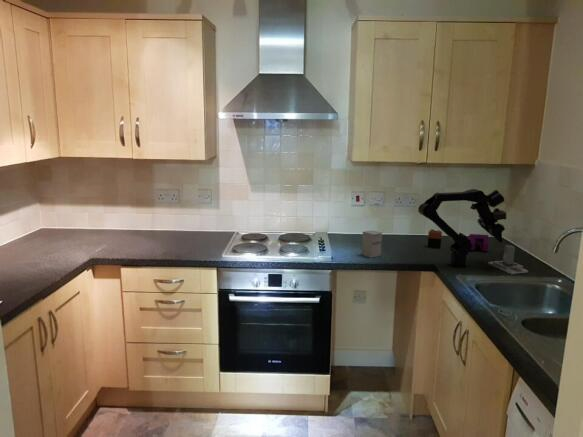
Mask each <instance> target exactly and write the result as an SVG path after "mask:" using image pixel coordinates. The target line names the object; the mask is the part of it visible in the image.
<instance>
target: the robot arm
mask: <svg viewBox="0 0 583 437" xmlns="http://www.w3.org/2000/svg"><path fill="white" fill-rule="evenodd" d="M457 201H458V202H461V201H466V202H472V203H471V206H470V208H469V209H471V210H474V211H475V210H476V212H477V214H478V219H477V220H476V221H477V222H476V223H478V225H479V226H480V227H481V228H483V230H485V231H486V232H487V233H488V235H491V237H493V238H494V239H496V241H498V242H499V243H503V232H504V231H505V230H506V228H505V226H504V225H503V224H502V223H498V222H499V221H501V220H502V221H503V220H507V212H506V211H505V210H502V209H499V208H498V207H497V206H499V205H501V204H502V203H505V198H504V196H503V195H502V194H501V193H500V192H499V190H497V189H495V190H493V191H491V193H488V194H485V192H484V191H483V190H480V189H476V188H472V189H471V188H470V189H467V190H464V191H455V192H435V193H434V194H433V195H432V196H431V197H429V198H428V199H426V200H425V201H424V202H423V203H421V204H420V205H419V206H418V210H417V211H418V213H419V214H420V215H422V216H423V217H425V218H426V219H428V220H430V221H431V222H432V223H433V224H434V225H436V227H438V228H439V229H440V231H441V232H442V233H444V234H446V236H448V237H449V238H450V239H451V242H452V244H451V245H450V246H449V250H450V252H451V254H450V261H449V262H448V265H451V267H454V268H465V267H467V266H468V264H467V256H468V254H469V252H470V251H469V250H470V249H471V247H472V243H471V242H470V241H471V240H470V239H468V238H467V237H468V236H466V235H465V234H464V233H463V232H459V233H458V232H457V231H455V230H454V229H453V228H452V227H451V226H450V224H448V223H447V222H446V221H445V220H444V219H442V218H441V216H440V215H439V214H438V211H437V210H438V209H439V207H440V206H441V204H442V203H444V202H457ZM491 208H494V209H493V211H492V210H491Z"/></svg>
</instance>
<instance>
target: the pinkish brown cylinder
mask: <svg viewBox="0 0 583 437" xmlns="http://www.w3.org/2000/svg"><path fill="white" fill-rule="evenodd" d="M361 237H362V238H361V241H362V242H361V255H362V256H364V257H367V258H369V259H371V258H376V257H380V256H381V255H382V242H383V233H382V232H381V231H377V230H374V229H371V230H365V231H362V236H361Z"/></svg>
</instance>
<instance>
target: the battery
mask: <svg viewBox="0 0 583 437" xmlns="http://www.w3.org/2000/svg"><path fill="white" fill-rule="evenodd" d="M442 235H443V231H442V230H441V229H440V230H439V229H437V230H435V229H430V230H429V231H428V238H427V248H430V249H437V250H438V249H441V247H442V239H443V238H442Z"/></svg>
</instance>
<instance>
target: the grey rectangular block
mask: <svg viewBox="0 0 583 437" xmlns="http://www.w3.org/2000/svg"><path fill="white" fill-rule="evenodd" d="M515 250H516V247H515V246H514V245H511V244H504V250H503V256H502V257H503V259H502V261H503V265H505V266H507V267H508V266H513V262H514V259H515Z"/></svg>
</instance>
